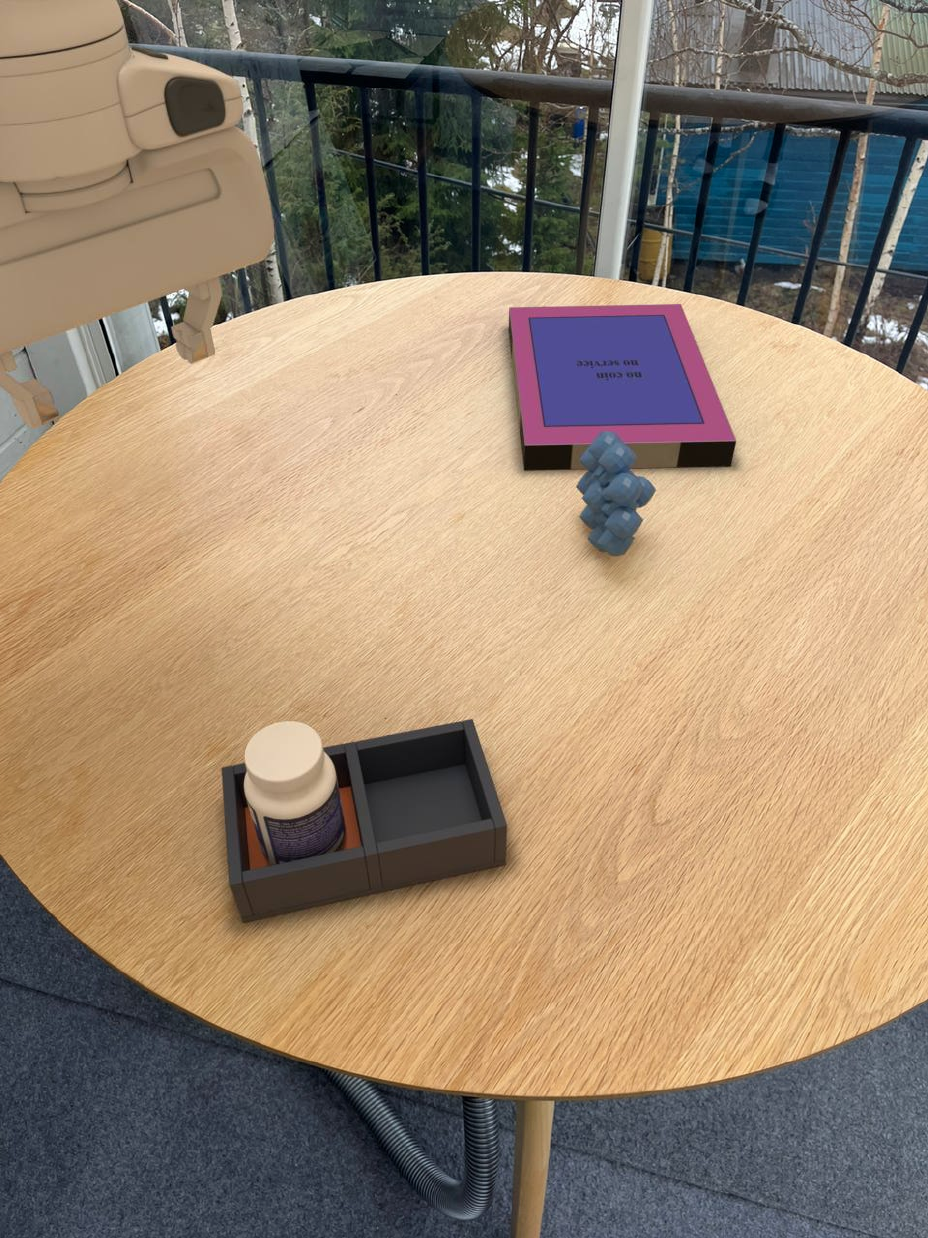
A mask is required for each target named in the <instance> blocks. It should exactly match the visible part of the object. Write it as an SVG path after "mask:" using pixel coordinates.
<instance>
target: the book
mask: <svg viewBox="0 0 928 1238" xmlns="http://www.w3.org/2000/svg"><path fill="white" fill-rule="evenodd" d="M508 337H509V347H510V356H511V365H512V373H513V374H512V375H513V383H514V393H515V401H516V411H517V420H518V428H519V429H518V430H519V438H520V448H521V457H522V467H523V471H562V470H563V471H564V470H567V471H568V470H569V471H570V470H587V469H586V468H585V467H584V466H583V464H582V463H581V462H580V461H579V460H580V458H581V456H582V455H583V453H584V452H585V451H586V449H587V448H588V447H589V446H590V445H591V443H592V442H593V441H594V439H595V438H596V437H597V435H598V434H600V433H602V432H603V431H610V432H613V433H615V434H616V435H617V436H619V438H620V439H621V440H622V441H623V443H624V444H625V445H627V446H628V447H630V449H631V450H632V451H633V452H634V453H635V455H636V456H637V459H636V461H635V463H634V464H633V466H632V467H631V468H630V469H662V468H663V469H664V468H667V469H668V468H669V469H670V468H709V467H711V468H713V467H714V468H715V467H731V466H732V463H733V459H734V453H735V449H736V446H737V445H736V444H737V438H736V437H735V433H734V431H733V429H732V427H731V423H730V421H729V419H728V417H727V414H726V412H725V408H724V407H723V405H722V402H721V400H720V397H719V395H718V392H717V390H716V387H715V384H714V383H713V380H712V377H711V374H710V373H709V369H708V367H707V365H706V362H705V360H704V357H703V355H702V352H701V350H700V347H699V345H698V343H697V340H696V338H695V335H694V333H693V330H692V328H691V325H690V323H689V320H688V318H687V315H686V313H685V311H684V307H683V305H682V303H672V304H671V303H663V304H662V303H659V304H658V303H657V304H611V305H565V306H564V305H563V306H562V305H561V306H560V305H559V306H513V307H511V306H510V307H508Z"/></svg>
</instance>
